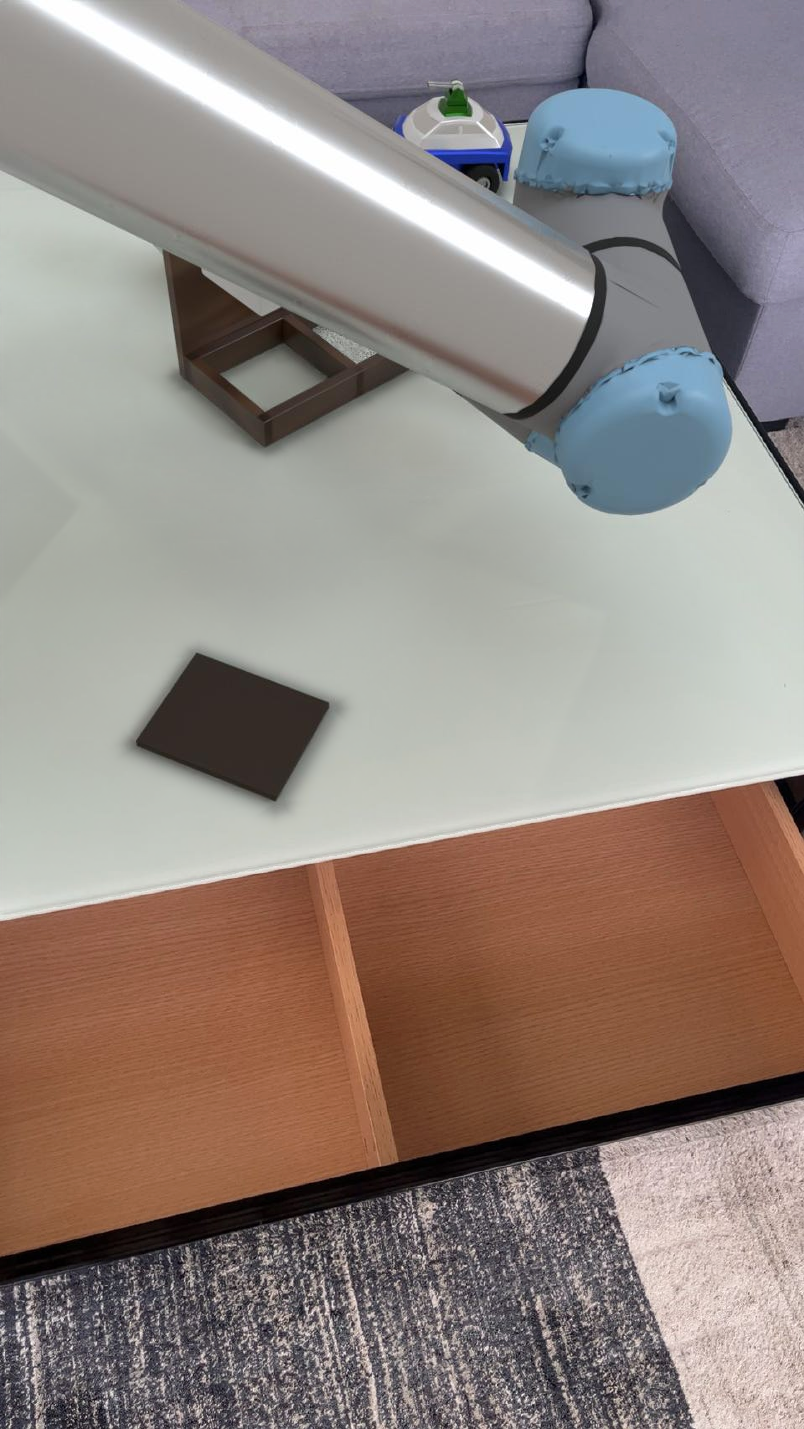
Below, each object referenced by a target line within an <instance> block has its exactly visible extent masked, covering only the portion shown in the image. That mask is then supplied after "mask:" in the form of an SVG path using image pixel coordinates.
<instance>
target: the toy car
mask: <svg viewBox="0 0 804 1429" xmlns="http://www.w3.org/2000/svg"><path fill="white" fill-rule="evenodd" d="M426 86H427V89H429V90H436V89H445V91H444V96H442V95H441V96H436V97H433V98H431V99H430V100H428V101H425V102H424V103H423V104H421V105H419V106H418V107H416V108H414V109H413V110H412V111H410V113H409V114H400V115H397V117H396V118H395V121H394V123H393V127H391V128H390V129H391V130H392V131H394V132H396V133H397V134H399V135H400V136H402V137H404V138H405V139H407V140H409V141H410V142H412V143H414V144H415V145H417V146H418V147H420V148H422V149H423V150H425V151H427V152H428V153H430V154H431V155H433V156H435V157H436V158H438V159H440V160H441V161H443V162H445V163H446V164H448V165H449V166H451V167H453V168H454V169H456V170H458V171H459V172H461V173H462V174H464V175H466V176H467V177H469V178H471V179H472V180H474V181H476V182H477V183H479V184H480V185H482V186H484V187H485V188H487V189H489V190H490V191H492V192H493V193H495V194H497V192H498V190H499V188H500V185H501V181H500V177H501V180H502V182H508V181H509V175H510V169H511V160H512V153H513V147H514V146H513V143H512V138H511V134H510V132H509V130H508V129H507V126H506V125H505V123H503V122H502V121H501V120H500V119H499V118H498V117H497V116H496V115H495V114H494V113H491V112H489V111H488V110H487V109H485V108H484V107H482V105H480V104H479V103H478V102H477V101H475V100H474V99H472V98H471V97H469V96H468V95H467V93H466V91H465V90H464V89H465V86H464V84H463V82H462V81H461V80H460V79H458V78H453V79H451V80H450V81H435V80H427V82H426ZM499 174H500V175H499Z"/></svg>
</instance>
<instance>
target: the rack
mask: <svg viewBox="0 0 804 1429" xmlns="http://www.w3.org/2000/svg"><path fill="white" fill-rule="evenodd" d="M162 252H163V255H162V258H163V259H162V260H163V266H164V270H165V271H164V273H165V279H166V285H167V294H168V300H169V306H170V307H169V308H170V314H171V321H172V322H171V323H172V328H173V334H174V342H175V349H176V355H177V356H176V357H177V361H178V363H177V364H178V370H179V375H180V377H182V378H183V379H184V380H185V381H187V382H188V383H189V384H190V385H191V386H192V387H193V388H195V389H196V390H197V391H198V392H200V393H201V395H203V396H204V397H206V399H208V400H209V401H210V402H211V403H213V404H214V406H216V407H217V408H218V409H219V410H221V412H223V413H224V414H225V415H227V416H228V417H229V418H230V419H231V420H232V421H233V422H234V423H236V424H237V425H238V426H240V428H242V429H243V430H244V431H245V432H246V433H248V435H250V436H251V437H252V438H253V439H255V440H256V441H257V442H258V443H259V444H260V445H261V446H263V448H266V447H268V446H271V445H272V444H274V443H276V442H278V441H280V440H281V439H283V438H285V437H287V436H289V435H290V434H292V433H294V432H296V431H298V430H300V429H302V428H304V427H305V426H307V425H309V424H311V423H313V422H314V421H316V420H318V419H320V418H322V417H324V416H326V415H328V414H329V413H331V412H333V411H336V410H338V409H339V408H340V407H342V406H344V405H347V404H348V403H350V402H352V401H354V400H355V399H358V398H360V397H361V396H364V395H365V394H366V393H368V392H370V391H373V390H374V389H376V388H377V387H380V386H381V385H383V384H386V383H387V382H389V381H390V380H393V379H395V378H396V377H398V376H400V375H402V374H404V373H406V372H408V371H410V369H408V368H406V367H404V366H402V365H400V364H398V363H396V362H394V361H392V360H390V359H388V358H386V357H384V356H382V355H380V354H378V353H374V354H372V355H371V356H369V357H367V358H365V359H364V360H361V361H360V362H358V363H356V362H355V361H354V360H352V359H351V358H350V357H348V356H347V355H345V354H344V353H343V352H342V351H341V350H339V349H337V348H336V347H335V346H334V345H333V344H331V343H330V342H329V341H327V340H326V339H325V338H323V337H322V336H320V335H319V334H318V333H316V331H314V330H312V329H315V328H317V327H318V326H319V325H318V324H316V323H314V322H312V321H310V320H308V319H306V318H303V317H301V316H299V315H296V314H293V313H291V312H290V311H289V310H287V309H285V308H283V307H280V308H278V309H276V310H274V311H272V312H270V313H268V314H266V315H264V316H260V315H258V314H257V313H256V312H254V311H253V310H252V309H250V308H249V307H247V306H246V305H245V304H243V303H242V302H240V301H239V300H238V299H236V298H235V297H234V296H232V295H231V294H229V293H228V292H227V291H225V290H224V289H223V288H221V287H220V286H218V285H217V284H216V283H214V282H213V281H212V280H210V279H209V278H207V277H206V276H205V275H203V273H202V268H201V267H199V266H196V265H194V264H192V263H190V262H188V261H186V260H184V259H182V258H180V257H178V256H176V255H174V254H172V253H170V252H168V251H166V250H164V249H162ZM282 344H285V345H286V346H287V347H289V349H291V350H293V351H294V352H295V353H296V354H298V355H299V356H300V357H301V358H303V359H304V360H305V361H307V362H308V364H310V365H311V366H313V367H314V368H315V369H316V370H318V371H319V372H321V373H322V374H323V375H325V377H327V379H325V380H323V381H321V382H319V383H317V384H316V385H313V386H312V387H310V388H308V389H305V390H304V391H302V392H300V393H298V394H296V395H294V396H292V397H290V398H289V399H286V400H285V401H283V402H281V403H279V404H277V405H275V406H273V407H271V408H269V409H267V410H266V411H265V410H264V409H262V407H261V406H259V405H258V404H257V403H256V402H254V401H253V400H251V399H250V398H249V397H248V396H247V395H246V394H245V393H243V392H242V391H241V390H240V389H238V388H237V387H236V386H235V384H233V383H232V382H230V381H229V380H228V379H227V378H226V377H225V376H223V375H222V373H223V374H224V373H225V372H226V371H229V370H231V369H233V368H235V367H237V366H239V365H241V364H243V363H245V362H247V361H249V360H251V359H254V358H255V357H257V356H259V355H261V354H264V353H265V352H267V351H269V350H272V349H273V348H275V347H278V346H279V345H282Z"/></svg>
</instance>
